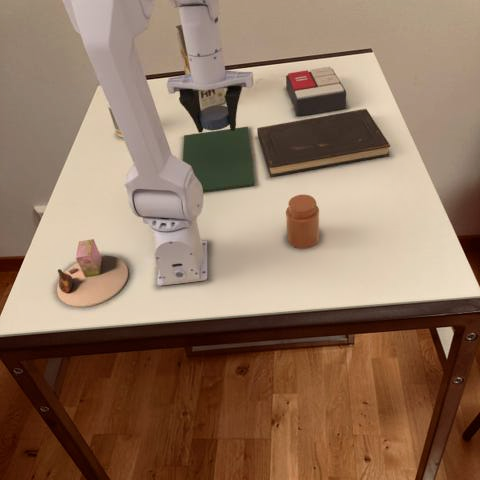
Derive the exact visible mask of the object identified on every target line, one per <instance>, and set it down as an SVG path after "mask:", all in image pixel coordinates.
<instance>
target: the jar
mask: <svg viewBox="0 0 480 480" xmlns="http://www.w3.org/2000/svg"><path fill="white" fill-rule="evenodd" d="M285 219H286V221H285V222H286V235H287V237H286V238H287V242H288V243H289V245H290V246H291V247H294V248H297V249H308V248H312V247H314V246H316V245H317V244H318V243H319V241H320V208H319V206H318V205H317V200H316V199H315V198H314V196H312V195H308V194H297V195H295V196H292V197H291V198H290V199H289V201H288V207H287V208H286V210H285Z"/></svg>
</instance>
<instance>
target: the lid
mask: <svg viewBox="0 0 480 480" xmlns="http://www.w3.org/2000/svg"><path fill="white" fill-rule="evenodd" d="M199 119H200V124H201V126H202V128H204V129H203V130H206V131H219V130H224V129H225V128H228V127H230V123H229V113H228V108H227V105H222V104H219V105H215V106H210V107H207V108H205V109H203V110H202V109H201V112H200V114H199Z"/></svg>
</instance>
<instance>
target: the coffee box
mask: <svg viewBox="0 0 480 480" xmlns="http://www.w3.org/2000/svg"><path fill="white" fill-rule="evenodd" d="M175 31H176V36H177V41H178V47H179V51H180V56H181V61H182V65H183V70H184V75H187V74H191V71H190V66H189V61H188V55H187V50H186V45H185V39H184V34H183V29H182V24H179V25H176V26H175ZM198 91H199V101H200V108H201V111H202V110H203V109H205V108H207V107H210V106H215V105H222V104H226V100H225V88H224V89H211V90H198Z"/></svg>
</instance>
